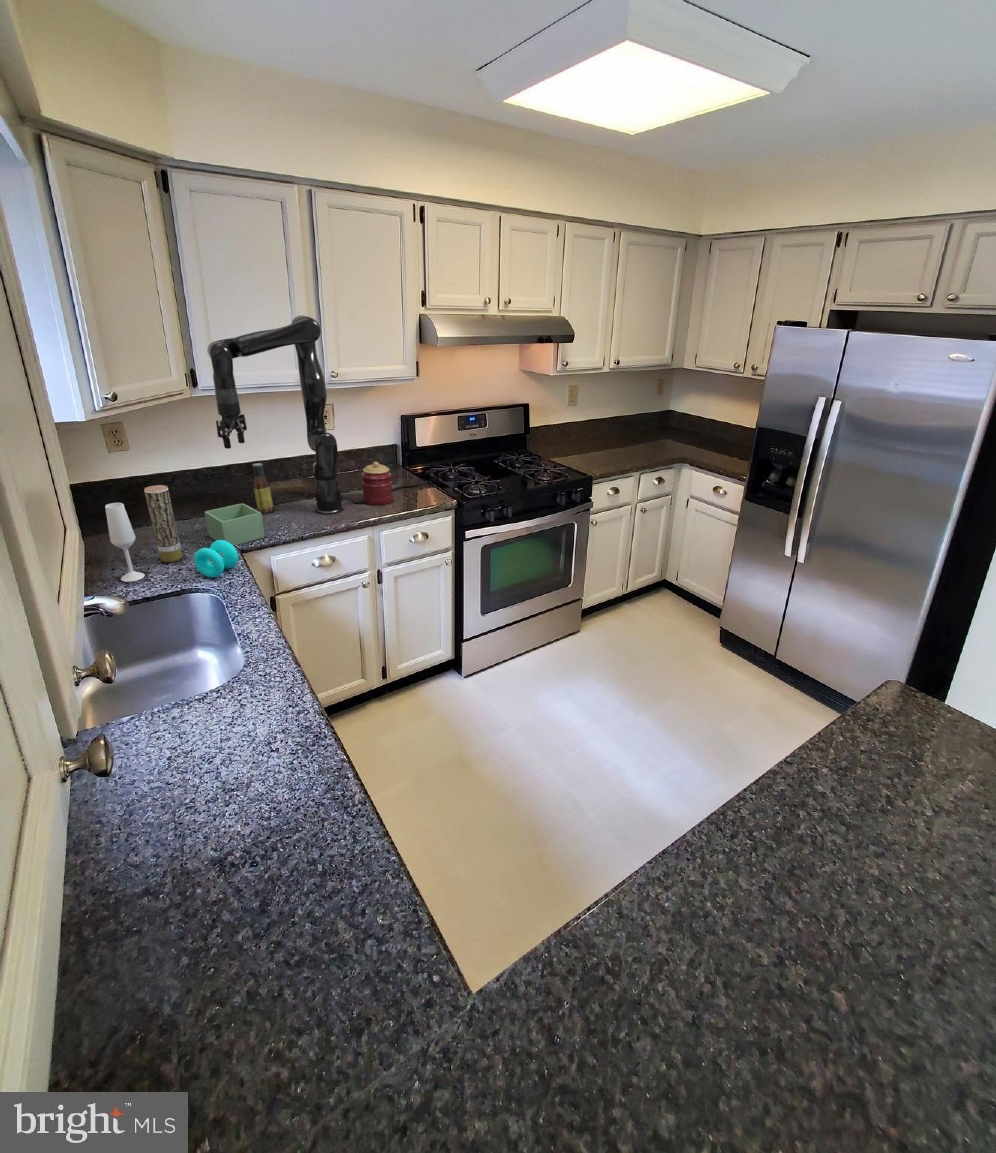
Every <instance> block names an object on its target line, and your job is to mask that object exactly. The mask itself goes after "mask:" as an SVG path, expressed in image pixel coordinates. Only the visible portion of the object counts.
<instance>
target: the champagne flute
mask: <svg viewBox="0 0 996 1153" xmlns="http://www.w3.org/2000/svg"><path fill="white" fill-rule="evenodd" d="M104 508H105V514H106V515H105V516H106V521H107V522H106V523H107V528H108V535H109V541H110V543H111V544H112V545H113V546H114V547H115V548H118V549H120V550H123V553H124V556H125V561H126V564H127V565H126V566H127V569H128V572H127V573H126V574H124V575H122V576H121V577H120V580H121V581H122V582H126V583H129V582H136V581H139V580H142V579H143V578H145V575H146V574H145V573H143V572H140V571H137V570H136V571H135V570H134V568H133V567H134V566H133V563H132V559H131V556H130V552H129V549H130V548H131V547H132V546H133V544H134V543H135V541H136V535H135V532H134V529H133V526H132V523H131V521H130V519H129V516H128V513H127V510H126V508H125V504H124V503H122V502H111V503H107V504H105V506H104Z"/></svg>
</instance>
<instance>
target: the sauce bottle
mask: <svg viewBox="0 0 996 1153" xmlns="http://www.w3.org/2000/svg"><path fill="white" fill-rule="evenodd" d="M251 466H252V469H253V475H254V476H253V479H252V485H253V491H254V498H255V502H256V508H257V511H258V512H260V513H261V514H269V513H272V512H273V511H274V502H273V497H272V491H271V485H270V483H269V481H268V479H267V477H266V474H265V471H264V464H263V463H261V462H257V463H253V464H252V465H251Z"/></svg>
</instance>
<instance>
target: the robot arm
mask: <svg viewBox="0 0 996 1153" xmlns="http://www.w3.org/2000/svg"><path fill="white" fill-rule="evenodd" d="M321 333H322V328H321V325H320V324H319V322H318V321H317V320H316V319H314V318H313V317H311V316H308V315H304V314H303V315H302V314H301V315H300V314H299V315H297V316H295V317H294V318H293V319H292V321H291V323H290V324H288V325H285V326H282V327H278V328H273V329H266V330H258V331H254V332H249V333H246V334H242V335H238V336H236V337H231V338H224V339H218V340H214V341H212V342H211V343H209V344H208V346H207V354H208V357H209V358H210V359H211V365H212V370H213V372H212V380H213V386H214V397H215V402H216V407H217V414H218V415H219V416H221V420H216V421H215V424H216V425H215V426H216V430H217V437H218V438H221V439H222V442H223V447H224V448H225V449H227V450H229V449H231V448H232V445H231V438H230V436H231V434H232V432H233V431H234V430H235V431H236V432H237V433H236V436H237V442H238V443H239V444H244V443H246V442H245V435H244V434H245V431H247V430H248V427H247V422H246V417H245V416H246V415H245V414H244V413H243V414H242V412H241V405H240V399H239V394H238V390H237V386H236V385H237V384H236V379H235V375H234V361H233V359H236V358H246V357H252V356H255V355H258V354H262V353H265V352H268V351H271V350H275V349H278V348H282V347H287V346H292V345H294V347H295V351H296V356H297V366H298V367H297V368H298V375H299V385H300V392H301V397H302V403H303V409H304V414H305V421H306V422H305V423H306V440H307V444H308V447H309V448H310V449H311V450H312V451H313V452H314V453H315V462H314V463H313V464H312V470H313V479H314V489H315V490H314V491H315V502H316V511H317V513H320V514H327V515H330V514H336V513H338V512H340V511H342V510H343V503H342V502H344V500H348V501H350V502H351V503H353V504H366V503H365V501H364V500H362V501H359V500H358V501H357V500H354V499H352V498H350V497H348V496H344V495H342V492H341V490H342V489H341V487H339V481H338V469H337V468H338V467H337V466H338V463H339V453H338V452H339V451H338V441H337V439H336V437H335V436H334V435H333V433H330V432H328V431H327V428H326V422H325V408H326V404H327V397H328V395H327V385H326V380H325V375H324V372H323V369H322V366H321V363H320V361H319V358H318V355H317V346H316V342H317V341H318V340H319V339H320V336H321ZM429 481H430V480H424V481H421V482H420V483H423V484H426V483H425V482H428V483H427V484H430V485H433V483H432V482H431V481H430V482H429ZM416 484H417V485H414V484H406V485H407V486H405V485H400V486H401V487H399V486H396V487H397V488H395V487H393V488H394V489H393V488H392V492H393V491H395V490H399V489H403V488H413V487H418V486H421V485H423V484H419V483H416Z"/></svg>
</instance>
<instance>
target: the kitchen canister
mask: <svg viewBox="0 0 996 1153" xmlns="http://www.w3.org/2000/svg"><path fill="white" fill-rule="evenodd" d="M360 475H361V478H362V481H361V486H362V501H365V503H364V504H367V505H371V506H378V505H379V506H381V505H386V504H389V503H391V502H392V501H393V498H394V497H393V491H392V489H393V485H392V484H393V481H392V479H391V477H392V472H390V468H389V467H387V466H386V465H384V464H380V463H379V462H378V461H373V462H372V464H368V465H366V466H365V467H364V468H363V469H362V473H361V474H360Z"/></svg>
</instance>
